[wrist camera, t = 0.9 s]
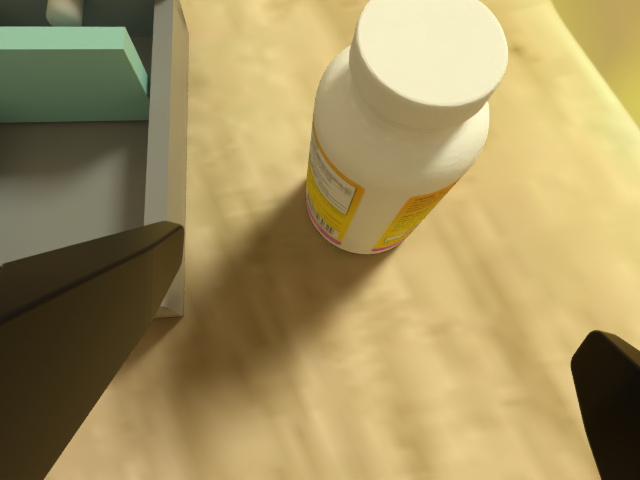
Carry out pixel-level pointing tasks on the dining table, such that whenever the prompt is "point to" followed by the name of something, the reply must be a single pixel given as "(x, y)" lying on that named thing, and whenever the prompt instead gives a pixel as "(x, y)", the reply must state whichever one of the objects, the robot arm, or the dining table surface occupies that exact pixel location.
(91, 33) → the pusher plate
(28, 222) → the tray
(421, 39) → the supplement bottle
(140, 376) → the dining table surface
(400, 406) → the dining table surface
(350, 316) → the dining table surface
